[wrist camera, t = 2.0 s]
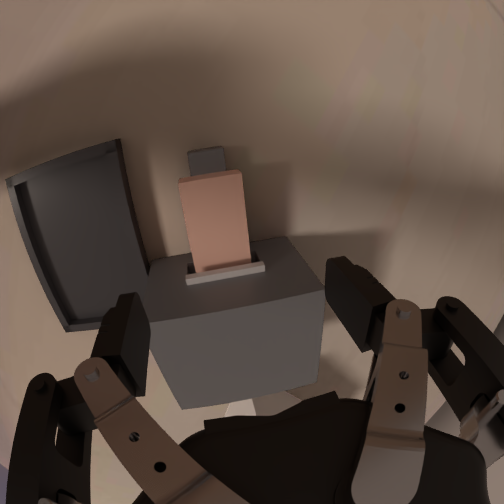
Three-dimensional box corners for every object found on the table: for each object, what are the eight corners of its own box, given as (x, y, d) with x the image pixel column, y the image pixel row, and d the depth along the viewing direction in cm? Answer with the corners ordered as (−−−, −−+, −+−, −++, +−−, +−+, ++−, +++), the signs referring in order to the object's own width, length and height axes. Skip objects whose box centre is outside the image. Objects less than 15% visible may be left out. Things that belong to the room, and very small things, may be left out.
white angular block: (292, 350, 38) (317, 407, 29) (304, 428, 51) (319, 465, 42) (194, 376, 36) (200, 438, 27) (241, 446, 50) (250, 484, 41)
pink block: (179, 178, 22) (178, 183, 21) (237, 169, 23) (241, 173, 21) (206, 310, 29) (208, 322, 27) (253, 302, 30) (256, 313, 28)
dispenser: (129, 163, 23) (93, 188, 14) (280, 139, 24) (327, 151, 16) (179, 343, 33) (181, 409, 24) (288, 322, 35) (316, 382, 26)
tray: (14, 175, 20) (5, 179, 18) (120, 138, 21) (114, 139, 20) (70, 323, 28) (66, 332, 27) (163, 310, 30) (162, 320, 29)
